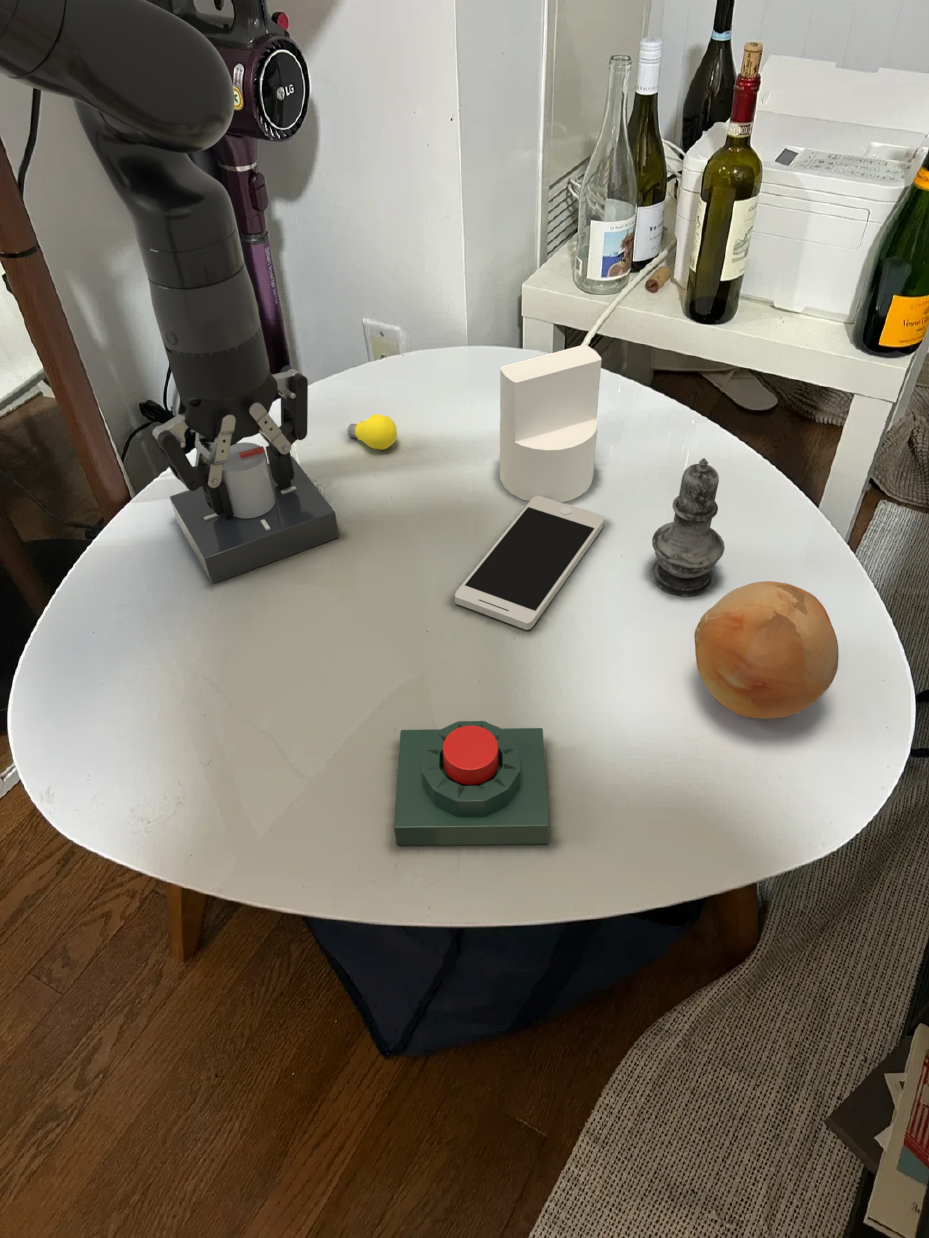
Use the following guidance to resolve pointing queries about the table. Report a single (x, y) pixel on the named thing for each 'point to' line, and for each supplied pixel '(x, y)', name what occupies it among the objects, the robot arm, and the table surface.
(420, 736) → the button block
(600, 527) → the smartphone
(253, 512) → the rotary knob
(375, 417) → the light bulb
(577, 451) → the base with upright slab
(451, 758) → the stop button
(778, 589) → the onion
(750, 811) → the table surface
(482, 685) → the table surface
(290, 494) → the dark grey flat block
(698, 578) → the grey chess piece
